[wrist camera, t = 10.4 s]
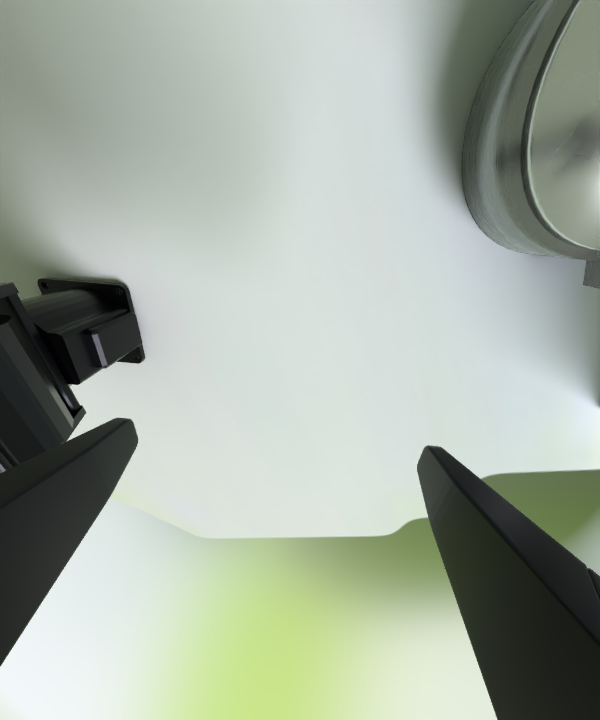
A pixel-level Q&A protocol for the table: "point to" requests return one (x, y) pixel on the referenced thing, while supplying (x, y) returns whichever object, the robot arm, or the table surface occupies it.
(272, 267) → the table surface
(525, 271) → the table surface
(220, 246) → the table surface
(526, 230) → the pot
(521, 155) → the lid
